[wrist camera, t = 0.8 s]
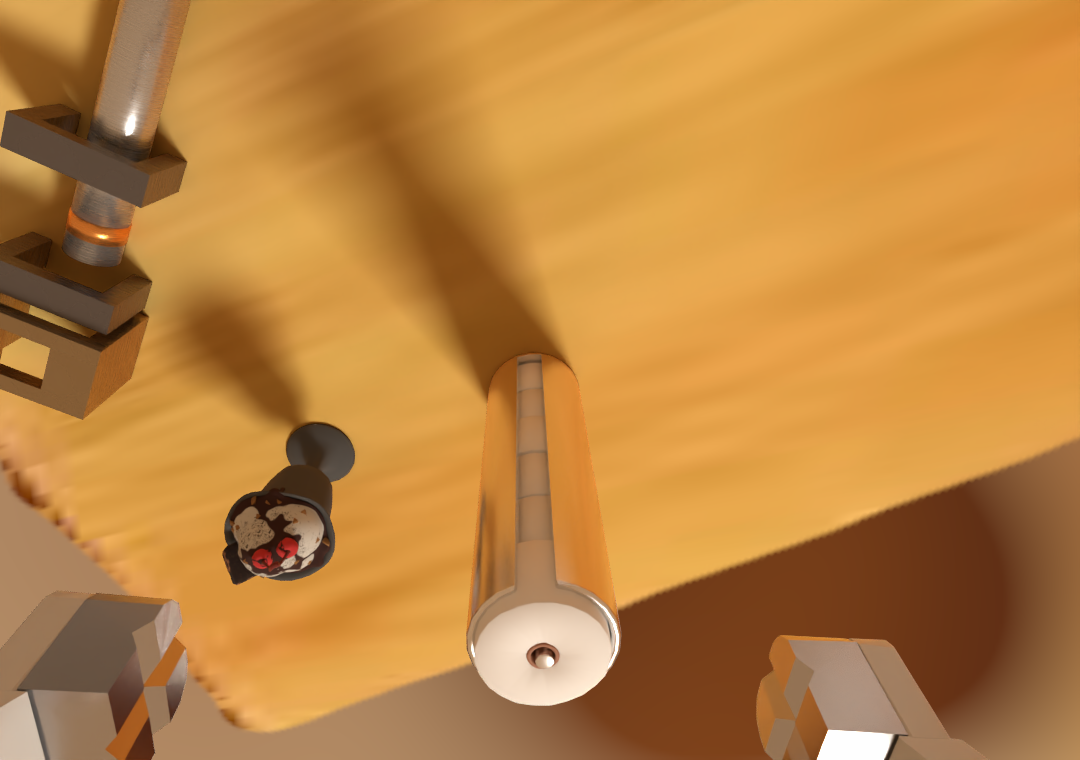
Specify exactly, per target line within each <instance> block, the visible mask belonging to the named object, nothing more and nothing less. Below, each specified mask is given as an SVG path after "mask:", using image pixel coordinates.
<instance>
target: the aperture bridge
mask: <svg viewBox="0 0 1080 760" xmlns="http://www.w3.org/2000/svg"><path fill="white" fill-rule="evenodd" d="M29 308H30V304H27V303H25V302H22V301H20V300H17V299H15V298H12V297H10V296H7V295H5V294H2V293H0V359H1V354H2V349H3V348H4V347H6V346H7V345H9V344H11V343H13V342H14V341H16V340H18V339H19V338H21V337H24V338H26V339H29V340H31V341H34V342H37V343H39V344H42V345H44V346H47V347H49V348H51V349H50V353H49V357H48V361H47V365H46V370H45V374H44V378H43V380H42V379H40V378H37V377H34V376H32V375H29V374H27V373H24V372H21V371H19V370H16V369H13V368H11V367H8V366H6V365H3V364H0V389H2V390H5V391H7V392H10V393H13V394H15V395H18V396H21V397H23V398H26V399H29V400H31V401H34V402H37V403H39V404H42V405H45V406H47V407H50V408H53V409H55V410H58V411H61V412H63V413H66V414H69V415H71V416H74V417H77V418H79V419H82V420H83V419H84V418H85V417H86V416H88V415H89V414H90V413H91V412H92V411H93V410H95V409H96V408H97V407H98V406H99V405H100V404H102V403H103V402H104V401H105V400H106V399H107V398H109V397H110V396H111V395H112V394H113V393H114V392H116V391H117V390H118V389H119V388H120V387H121V386H123V385H124V384H125V383H126V382H127V381H128V380H130V379H131V376H132V373H133V369H134V366H135V363H136V359H137V356H138V352H139V349H140V346H141V342H142V339H143V335H144V332H145V329H146V325H147V322H148V318H149V317H148V316H145V315H143V314H140V313H137V314H136V315H134V316H133V317H131V318H130V319H129V320H127V321H126V322H124V323H123V324H122V325H120V326H119V327H117V328H116V329H114V330H113V331H112V332H110V333H109V334H107V335H105V334H102V333H100V332H97V333H96V334H94V335H93V336H91V337H90V338H88V337H86V336H83V335H81V334H78V333H76V332H73V331H71V330H68V329H66V328H63V327H61V326H58V325H55V324H53V323H50V322H48V321H45V320H43V319H40V318H38V317H35V316H33V315H30V314H28V312H29Z"/></svg>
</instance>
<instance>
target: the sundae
mask: <svg viewBox="0 0 1080 760" xmlns="http://www.w3.org/2000/svg"><path fill="white" fill-rule="evenodd" d="M286 451H287V457H288V460H289V462H290V464H291V466H288V467H286V468H284V469H283V470H282V471H280V472H279V473H278V474H277V475H276V476H275V477H274V478H272V479H271V480H270V482H269V483H268V484H267V485H266V486H265V487H264V489H263V490H262V491H259V492H252V493H249V494H246V495H244V496H242V497H241V498H240V499H239V500H237V502H236V503H235V504H234V505H233V506H232V508H231V510H230V512H229V513H228V516H227V519H226V521H225V529H224V533H225V540H226V542H227V544H228V546H227V547H226V548H225V549H224V551H223V558H224V561H225V564H226V567H227V570H228V572H229V574H230V576H231V579H232V582H233V584H236V585H238V584H240V583H243V582H245V581H247V580H249V579H251V578H252V577H254V576H256V575H258V576H260V577H262V578H264V577H267V578H270V579H274V580H280V581H292V580H296V579H300V578H303V577H306V576H309V575H311V574H313V573H315V572H316V571H318V570H319V569H321V568H322V567H324V566H325V565H326V564H327V563H328V562H329V560H330V559H331V557H332V555H333V552H334V548H335V533H334V529H333V526H332V522H331V520H330V514H331V508H332V485H331V482H333V481H336V480H339V479H341V478H343V477H344V476H345V475H347V474H348V473H349V472H350V470H351V468H352V466H353V464H354V460H355V451H354V449H353V446H352V444H351V442H350V440H349V439H348V438H347V437H346V436H345V435H344V434H343V433H342V432H341V431H339V430H337V429H336V428H334V427H331V426H328V425H323V424H311V425H306V426H303V427H301V428H299V429H298V430H296V431H295V432H294V433H293V434H292V435H291V437H290V438H289V441H288V443H287V450H286Z"/></svg>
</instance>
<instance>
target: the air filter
mask: <svg viewBox="0 0 1080 760" xmlns="http://www.w3.org/2000/svg"><path fill="white" fill-rule="evenodd" d="M466 640H467V651H468V654H469V656H470V659H471V662H472V664H473V666H474V667H475V668H476V670H477V671H478V673H479V675H480V676H481V677H482V679H483V680H484V682H485V683H486V684H487V686H488V687H489V688H491V689H492V690H493V691H495V692H496V693H498V694H499V695H500V696H502V697H504V698H507V699H509V700H511V701H513V702H516V703H520V704H528V705H554V704H558V703H562V702H566V701H569V700H571V699H574V698H576V697H578V696H581V695H583V694H584V693H586V692H587V691H588V690H590V689H591V688H593V687H594V686H596V684H598V683H599V681H600V680H601V679H602V678H603V677H604V676H605V675H606V672H607V671H608V670H609V669H610V668H611V667H612V665H613V664H614V661H615V659H616V657H617V655H618V652H619V650H620V641H621V629H620V623H619V617H618V611H617V605H616V600H615V594H614V588H613V582H612V576H611V570H610V564H609V559H608V553H607V547H606V541H605V535H604V529H603V524H602V518H601V512H600V506H599V500H598V494H597V488H596V483H595V477H594V471H593V465H592V459H591V453H590V448H589V442H588V436H587V430H586V424H585V418H584V412H583V407H582V401H581V395H580V389H579V385H578V381H577V379H576V377H575V375H574V374H573V372H572V370H571V369H570V368H569V367H568V366H567V365H566V364H565V363H564V362H562V361H561V360H559V359H557V358H555V357H553V356H550V355H546V354H542V353H527V354H523V355H518V356H516V357H514V358H512V359H510V360H508V361H506V362H505V363H504V364H503V365H502V366H501V367H500V368H499V369H498V370H497V371H496V373H495V374H494V376H493V378H492V380H491V383H490V387H489V392H488V402H487V413H486V424H485V435H484V446H483V457H482V468H481V479H480V490H479V501H478V512H477V522H476V533H475V544H474V555H473V566H472V577H471V588H470V599H469V610H468V621H467V632H466Z"/></svg>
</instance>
